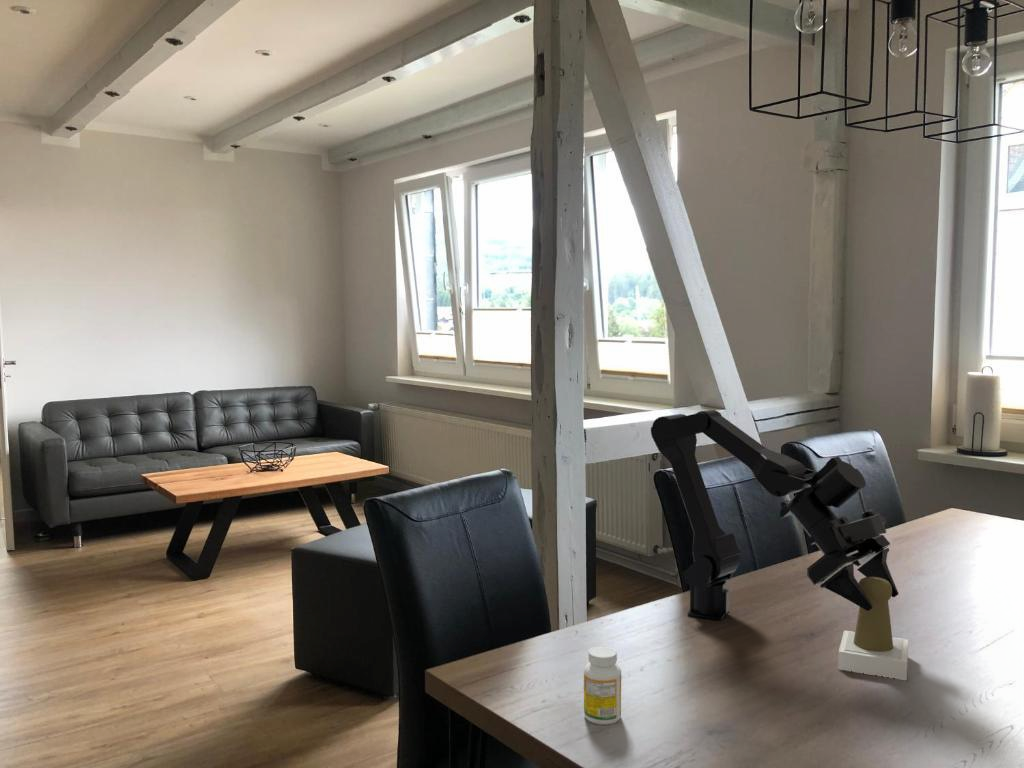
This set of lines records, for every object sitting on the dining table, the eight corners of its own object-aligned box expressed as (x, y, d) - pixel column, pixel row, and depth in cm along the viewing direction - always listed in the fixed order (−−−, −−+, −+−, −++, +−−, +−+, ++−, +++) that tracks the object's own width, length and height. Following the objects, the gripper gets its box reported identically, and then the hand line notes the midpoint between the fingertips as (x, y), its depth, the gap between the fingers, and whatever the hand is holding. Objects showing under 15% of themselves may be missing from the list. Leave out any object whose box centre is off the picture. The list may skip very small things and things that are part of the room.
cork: (901, 648, 137) (903, 582, 136) (872, 653, 135) (874, 586, 134) (874, 635, 143) (876, 571, 142) (845, 640, 141) (846, 575, 140)
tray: (838, 669, 137) (838, 650, 137) (843, 647, 146) (844, 629, 146) (906, 680, 133) (907, 661, 132) (907, 657, 142) (908, 638, 141)
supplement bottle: (607, 729, 118) (607, 662, 118) (576, 718, 122) (576, 653, 121) (628, 715, 122) (628, 650, 122) (597, 704, 126) (597, 641, 125)
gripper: (826, 504, 134) (894, 589, 127) (880, 487, 146) (945, 563, 139) (780, 543, 140) (842, 626, 133) (835, 524, 153) (895, 599, 146)
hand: (883, 602), depth 138 cm, fingers open, 9 cm apart
